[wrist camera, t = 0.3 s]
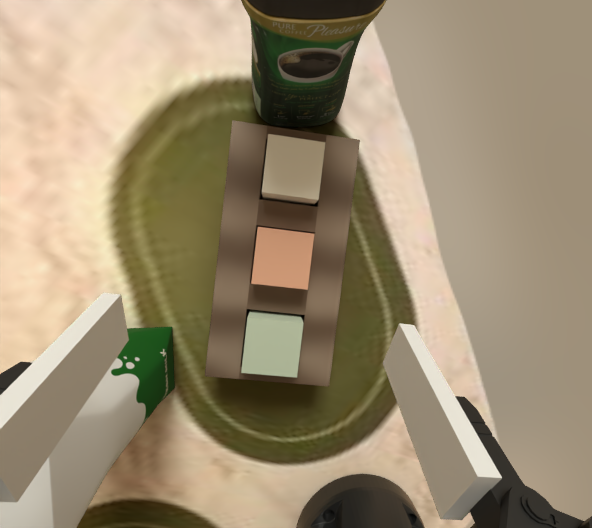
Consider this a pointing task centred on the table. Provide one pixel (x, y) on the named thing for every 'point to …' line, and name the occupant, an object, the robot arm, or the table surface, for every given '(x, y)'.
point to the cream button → (292, 170)
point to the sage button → (272, 343)
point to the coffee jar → (304, 56)
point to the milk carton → (97, 434)
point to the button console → (285, 216)
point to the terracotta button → (282, 258)
